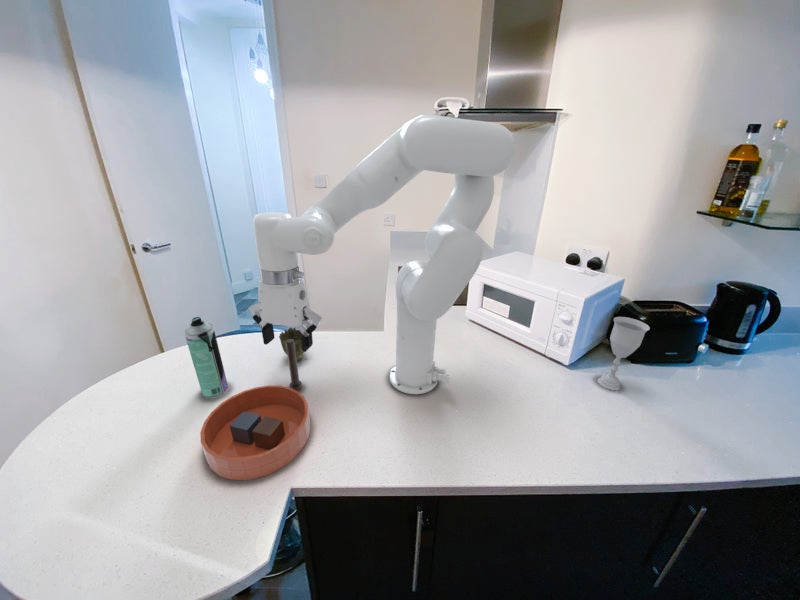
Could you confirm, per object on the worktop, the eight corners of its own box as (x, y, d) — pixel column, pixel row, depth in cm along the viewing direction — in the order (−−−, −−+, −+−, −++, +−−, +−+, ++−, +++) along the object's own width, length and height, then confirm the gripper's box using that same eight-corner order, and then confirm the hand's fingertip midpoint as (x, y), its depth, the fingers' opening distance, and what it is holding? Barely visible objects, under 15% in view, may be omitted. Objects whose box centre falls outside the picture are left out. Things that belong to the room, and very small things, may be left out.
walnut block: (285, 434, 64) (282, 420, 62) (273, 450, 61) (270, 435, 59) (267, 430, 65) (264, 416, 63) (255, 446, 61) (251, 431, 60)
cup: (313, 351, 93) (311, 327, 89) (304, 366, 86) (301, 341, 83) (289, 349, 93) (286, 326, 90) (278, 364, 87) (274, 339, 83)
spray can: (233, 387, 78) (216, 315, 69) (215, 402, 73) (194, 326, 65) (216, 382, 79) (197, 311, 71) (197, 396, 74) (174, 321, 66)
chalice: (589, 383, 83) (610, 323, 75) (596, 372, 87) (616, 314, 80) (622, 396, 78) (647, 334, 71) (627, 384, 83) (651, 324, 75)
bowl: (326, 413, 70) (324, 394, 68) (275, 494, 53) (270, 472, 51) (251, 397, 75) (247, 378, 72) (182, 467, 57) (174, 446, 55)
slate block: (263, 429, 65) (260, 415, 64) (250, 445, 62) (247, 430, 60) (246, 425, 66) (243, 411, 64) (233, 440, 62) (229, 425, 61)
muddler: (304, 386, 78) (298, 338, 73) (298, 394, 76) (291, 344, 70) (294, 384, 79) (287, 336, 73) (288, 392, 77) (280, 343, 71)
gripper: (326, 273, 67) (330, 343, 74) (255, 264, 70) (265, 331, 77) (309, 286, 60) (314, 360, 67) (231, 275, 64) (244, 347, 71)
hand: (288, 344), depth 72 cm, fingers open, 9 cm apart
